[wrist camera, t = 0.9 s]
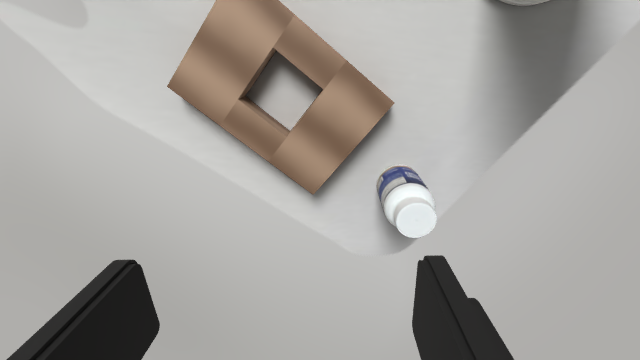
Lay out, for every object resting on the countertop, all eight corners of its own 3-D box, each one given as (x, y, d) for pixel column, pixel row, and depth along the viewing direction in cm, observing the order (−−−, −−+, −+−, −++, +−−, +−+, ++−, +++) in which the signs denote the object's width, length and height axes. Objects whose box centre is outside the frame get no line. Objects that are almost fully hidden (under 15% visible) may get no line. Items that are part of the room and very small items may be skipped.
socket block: (245, -28, 31) (237, -37, 28) (389, 99, 35) (394, 102, 32) (180, 84, 35) (166, 86, 32) (314, 185, 39) (313, 194, 36)
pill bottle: (426, 185, 39) (455, 224, 30) (392, 209, 40) (409, 253, 31) (402, 154, 37) (424, 185, 28) (367, 180, 39) (378, 217, 30)
